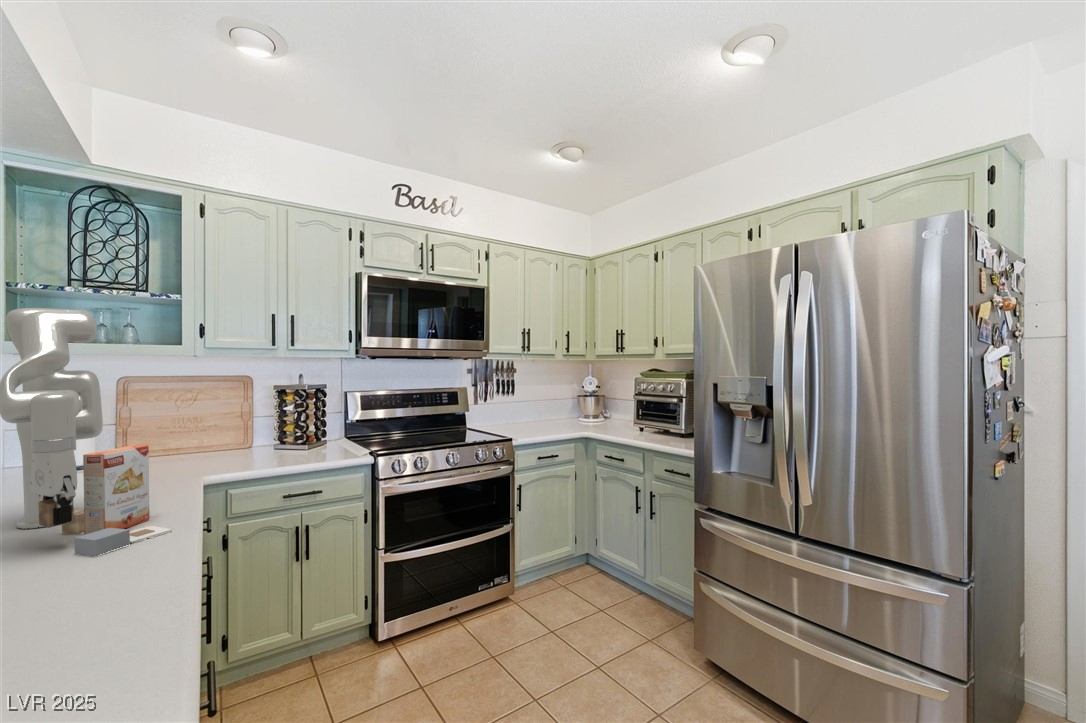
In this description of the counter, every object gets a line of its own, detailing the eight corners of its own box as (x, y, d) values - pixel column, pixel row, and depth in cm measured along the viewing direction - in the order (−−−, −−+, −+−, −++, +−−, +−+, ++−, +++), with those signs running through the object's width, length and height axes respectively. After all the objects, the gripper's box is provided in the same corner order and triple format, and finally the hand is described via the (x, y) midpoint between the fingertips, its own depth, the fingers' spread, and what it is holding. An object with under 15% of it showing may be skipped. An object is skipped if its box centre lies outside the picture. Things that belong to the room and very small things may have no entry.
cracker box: (107, 537, 124) (104, 453, 124) (83, 537, 125) (80, 454, 125) (152, 519, 138) (149, 444, 138) (130, 519, 139) (128, 444, 139)
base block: (74, 555, 113) (74, 537, 113) (109, 544, 120) (109, 527, 120) (95, 558, 111) (95, 540, 111) (130, 546, 118) (129, 529, 118)
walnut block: (39, 524, 117) (38, 501, 117) (63, 518, 121) (62, 496, 121) (49, 527, 115) (48, 504, 115) (73, 521, 120) (73, 498, 119)
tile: (109, 539, 122) (109, 536, 122) (150, 528, 131) (150, 525, 131) (131, 543, 119) (131, 540, 119) (172, 531, 127) (171, 528, 127)
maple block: (62, 534, 128) (61, 515, 128) (79, 528, 132) (78, 509, 132) (78, 534, 128) (78, 514, 128) (95, 528, 132) (94, 509, 132)
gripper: (14, 445, 117) (16, 522, 118) (53, 451, 111) (55, 532, 112) (55, 439, 124) (57, 512, 125) (94, 445, 118) (96, 521, 119)
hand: (56, 521), depth 118 cm, fingers closed on walnut block, 4 cm apart
